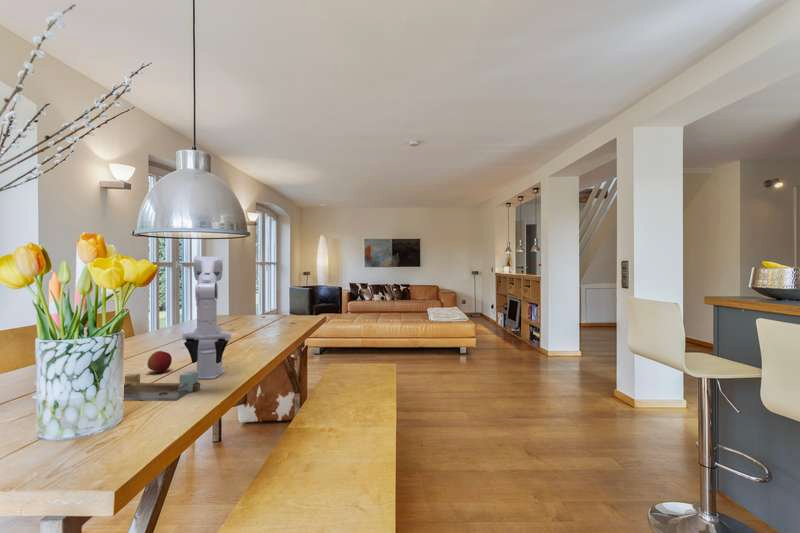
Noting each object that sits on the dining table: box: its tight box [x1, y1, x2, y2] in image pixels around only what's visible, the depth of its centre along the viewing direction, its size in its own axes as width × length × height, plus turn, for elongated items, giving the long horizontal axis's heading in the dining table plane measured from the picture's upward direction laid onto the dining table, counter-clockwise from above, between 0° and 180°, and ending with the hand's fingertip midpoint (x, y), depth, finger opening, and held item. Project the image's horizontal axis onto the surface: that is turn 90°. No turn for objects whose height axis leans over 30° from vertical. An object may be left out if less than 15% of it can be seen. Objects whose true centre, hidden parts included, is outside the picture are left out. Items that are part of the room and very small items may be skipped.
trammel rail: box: [123, 373, 201, 393], centre depth 128 cm, size 8×24×5 cm, turn 92°
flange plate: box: [123, 390, 189, 402], centre depth 125 cm, size 7×22×1 cm, turn 92°
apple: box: [147, 350, 173, 374], centre depth 151 cm, size 8×8×8 cm
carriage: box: [178, 371, 200, 393], centre depth 129 cm, size 9×4×5 cm, turn 2°
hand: (206, 362), depth 130 cm, fingers open, 7 cm apart
